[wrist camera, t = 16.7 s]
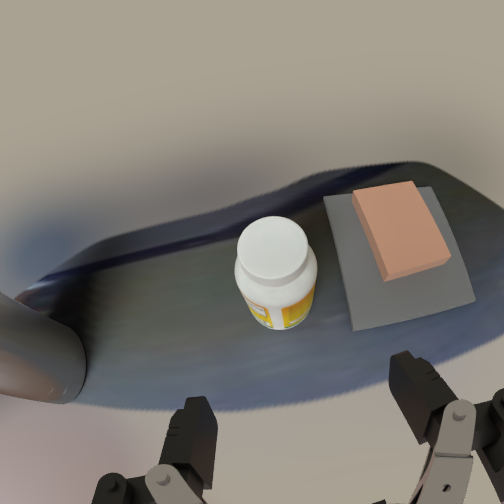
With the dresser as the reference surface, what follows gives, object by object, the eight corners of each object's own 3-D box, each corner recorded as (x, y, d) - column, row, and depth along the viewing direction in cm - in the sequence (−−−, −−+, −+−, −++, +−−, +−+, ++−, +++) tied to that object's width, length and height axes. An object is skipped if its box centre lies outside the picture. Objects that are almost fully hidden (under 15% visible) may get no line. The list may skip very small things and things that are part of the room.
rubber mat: (352, 331, 22) (353, 330, 21) (323, 200, 28) (323, 196, 28) (472, 302, 20) (475, 300, 20) (429, 189, 27) (430, 186, 26)
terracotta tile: (451, 256, 21) (412, 180, 25) (388, 274, 21) (353, 190, 26) (444, 264, 22) (408, 190, 27) (383, 282, 23) (351, 201, 27)
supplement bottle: (247, 329, 23) (217, 289, 15) (253, 271, 26) (229, 207, 17) (312, 331, 22) (320, 291, 14) (313, 272, 25) (318, 206, 16)
